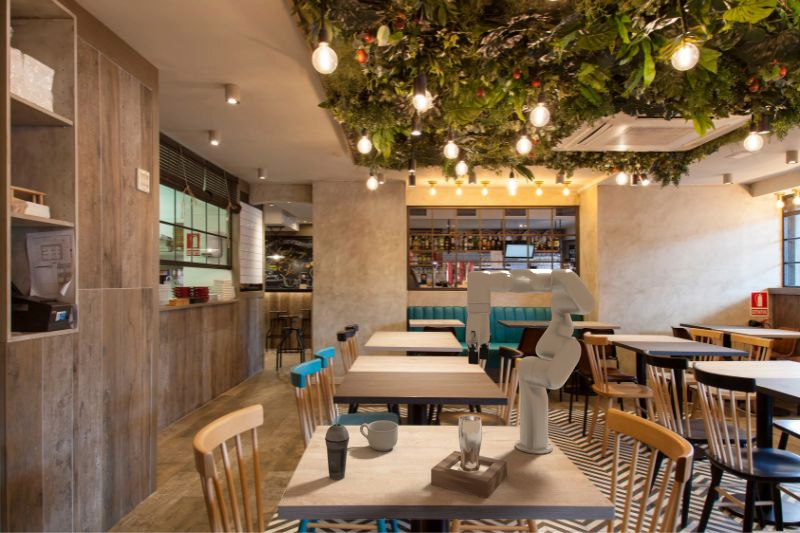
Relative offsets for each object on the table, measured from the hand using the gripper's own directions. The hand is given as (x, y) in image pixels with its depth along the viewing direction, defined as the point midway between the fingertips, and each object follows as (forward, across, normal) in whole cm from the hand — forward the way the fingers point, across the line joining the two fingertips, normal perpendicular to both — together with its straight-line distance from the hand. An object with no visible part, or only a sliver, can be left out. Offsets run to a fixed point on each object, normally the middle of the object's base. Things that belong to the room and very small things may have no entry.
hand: (478, 361), depth 161 cm
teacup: (+32, +5, -35) cm, 48 cm away
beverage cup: (+32, +33, -32) cm, 56 cm away
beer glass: (+29, +15, +3) cm, 33 cm away
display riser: (+32, +15, +3) cm, 36 cm away
